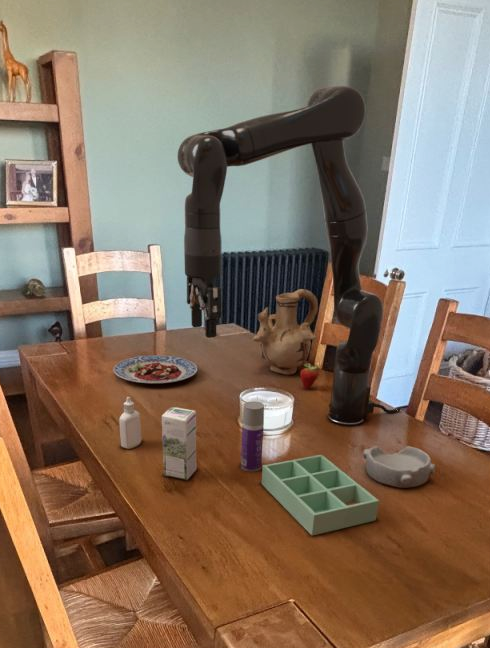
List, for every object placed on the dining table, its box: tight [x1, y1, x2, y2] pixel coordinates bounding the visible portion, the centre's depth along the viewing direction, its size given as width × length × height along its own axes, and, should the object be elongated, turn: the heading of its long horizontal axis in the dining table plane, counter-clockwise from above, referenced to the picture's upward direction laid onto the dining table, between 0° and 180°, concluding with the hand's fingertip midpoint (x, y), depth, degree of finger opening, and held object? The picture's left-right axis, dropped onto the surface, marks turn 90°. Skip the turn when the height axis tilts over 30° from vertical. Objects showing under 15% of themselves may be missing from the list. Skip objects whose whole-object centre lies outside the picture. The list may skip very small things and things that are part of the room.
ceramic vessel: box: [252, 288, 319, 376], centre depth 191 cm, size 18×19×25 cm
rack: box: [261, 454, 380, 536], centre depth 126 cm, size 15×22×5 cm
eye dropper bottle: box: [118, 396, 143, 450], centre depth 144 cm, size 4×6×12 cm
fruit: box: [300, 362, 319, 390], centre depth 182 cm, size 5×5×8 cm
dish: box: [362, 445, 436, 489], centre depth 137 cm, size 14×14×5 cm
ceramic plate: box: [113, 354, 198, 385], centre depth 190 cm, size 26×26×3 cm
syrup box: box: [161, 406, 198, 481], centre depth 132 cm, size 6×6×14 cm
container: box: [240, 401, 265, 473], centre depth 136 cm, size 5×5×15 cm
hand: (203, 331), depth 132 cm, fingers open, 8 cm apart
